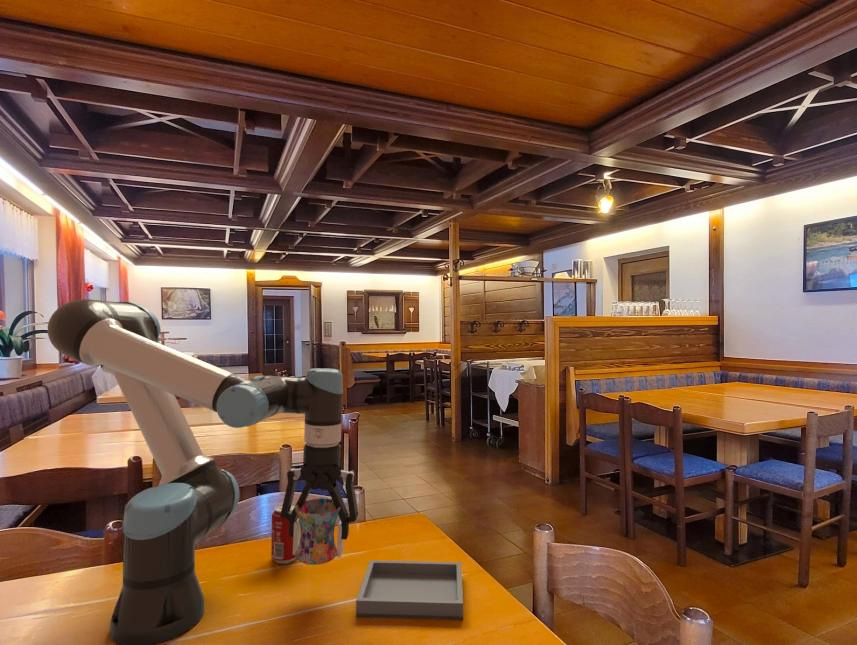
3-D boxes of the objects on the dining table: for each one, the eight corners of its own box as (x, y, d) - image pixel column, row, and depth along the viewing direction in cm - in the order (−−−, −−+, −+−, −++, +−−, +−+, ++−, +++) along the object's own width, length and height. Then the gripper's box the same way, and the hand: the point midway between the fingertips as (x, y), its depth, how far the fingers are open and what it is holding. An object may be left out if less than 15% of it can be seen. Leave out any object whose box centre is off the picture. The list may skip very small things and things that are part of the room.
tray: (356, 616, 90) (356, 600, 90) (370, 573, 106) (370, 560, 106) (463, 619, 90) (463, 603, 90) (460, 576, 105) (460, 562, 106)
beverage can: (305, 557, 114) (305, 506, 114) (284, 568, 109) (284, 514, 109) (286, 550, 118) (287, 501, 118) (265, 560, 112) (266, 509, 113)
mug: (332, 570, 94) (334, 515, 94) (285, 567, 94) (288, 512, 94) (347, 543, 106) (349, 495, 106) (305, 540, 106) (307, 492, 106)
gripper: (265, 445, 97) (260, 558, 97) (370, 450, 96) (365, 564, 96) (278, 437, 105) (274, 542, 104) (375, 441, 104) (371, 547, 103)
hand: (318, 552), depth 100 cm, fingers closed on mug, 8 cm apart
